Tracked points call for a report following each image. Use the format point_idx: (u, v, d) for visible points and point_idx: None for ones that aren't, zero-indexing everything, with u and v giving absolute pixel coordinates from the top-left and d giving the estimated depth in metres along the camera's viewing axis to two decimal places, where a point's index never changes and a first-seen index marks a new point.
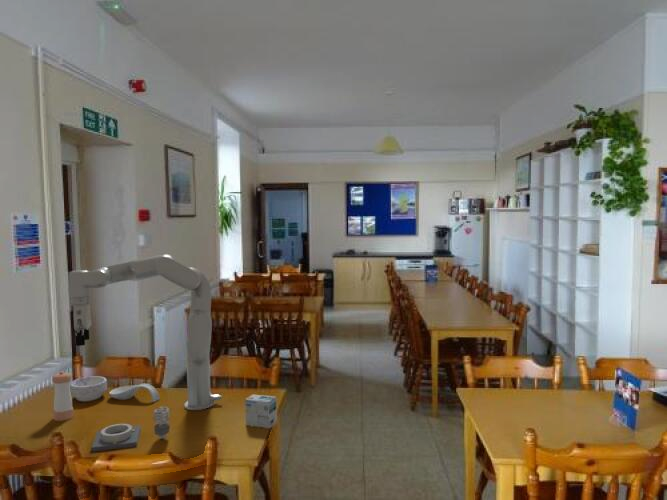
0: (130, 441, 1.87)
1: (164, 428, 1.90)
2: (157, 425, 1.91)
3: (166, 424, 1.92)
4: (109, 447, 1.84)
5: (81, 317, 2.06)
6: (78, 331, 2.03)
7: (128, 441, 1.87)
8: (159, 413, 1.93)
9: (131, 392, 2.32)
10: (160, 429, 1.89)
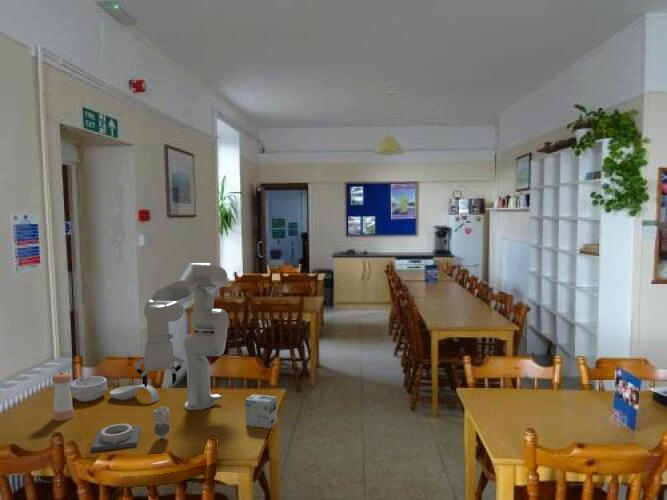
0: (130, 441, 1.87)
1: (164, 428, 1.90)
2: (157, 425, 1.91)
3: (166, 424, 1.92)
4: (109, 447, 1.84)
5: None
6: None
7: (128, 441, 1.87)
8: (159, 413, 1.93)
9: (131, 392, 2.32)
10: (160, 429, 1.89)
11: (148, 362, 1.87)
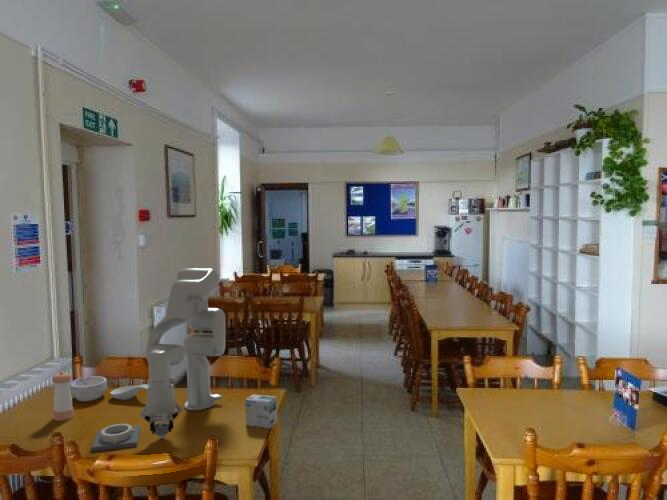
0: (130, 441, 1.87)
1: (164, 428, 1.90)
2: (157, 425, 1.91)
3: (166, 424, 1.92)
4: (109, 447, 1.84)
5: None
6: None
7: (128, 441, 1.87)
8: None
9: (131, 392, 2.32)
10: (160, 429, 1.89)
11: (150, 407, 1.88)
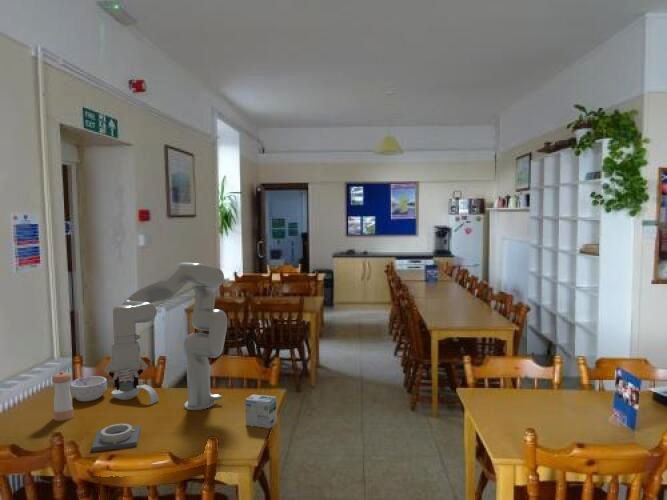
0: (130, 441, 1.87)
1: (129, 384, 1.88)
2: (122, 381, 1.89)
3: (131, 381, 1.90)
4: (109, 447, 1.84)
5: None
6: (143, 369, 1.92)
7: (128, 441, 1.87)
8: None
9: (131, 393, 2.31)
10: (125, 385, 1.87)
11: (114, 363, 1.86)
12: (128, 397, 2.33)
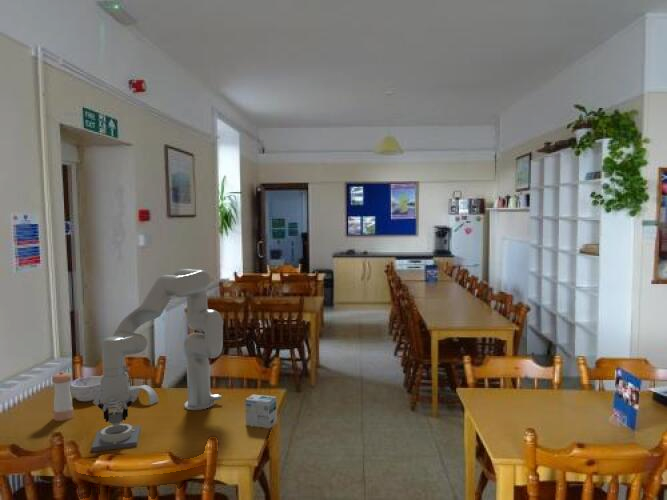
0: (130, 441, 1.87)
1: (118, 416, 1.89)
2: (111, 413, 1.90)
3: (120, 412, 1.91)
4: (109, 447, 1.84)
5: (129, 385, 1.92)
6: None
7: (128, 441, 1.87)
8: None
9: None
10: (113, 417, 1.88)
11: (103, 395, 1.87)
12: None
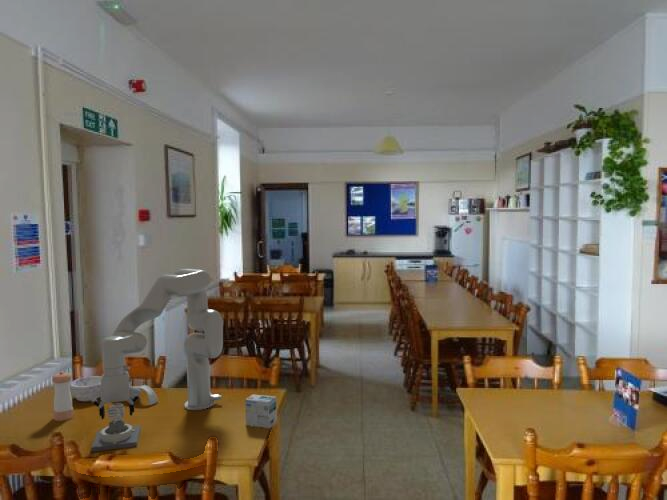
0: (130, 441, 1.87)
1: (118, 425, 1.89)
2: (112, 422, 1.90)
3: (121, 421, 1.91)
4: (109, 447, 1.84)
5: None
6: None
7: (128, 441, 1.87)
8: (114, 410, 1.92)
9: (131, 393, 2.31)
10: (114, 426, 1.89)
11: (104, 394, 1.87)
12: None
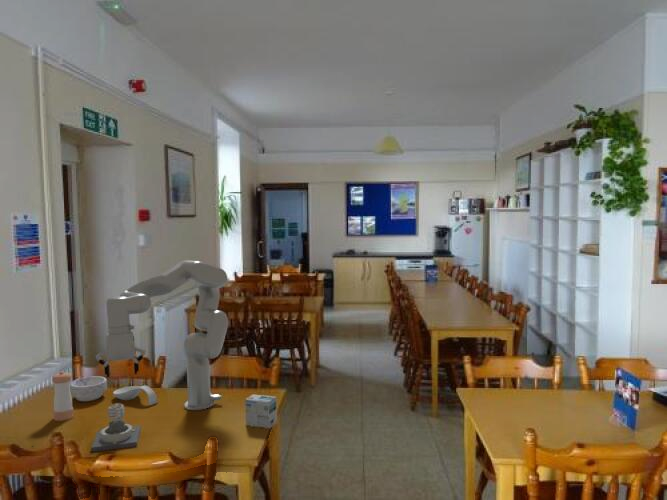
0: (130, 441, 1.87)
1: (119, 425, 1.89)
2: (112, 422, 1.90)
3: (121, 421, 1.91)
4: (109, 447, 1.84)
5: (134, 343, 1.96)
6: (143, 355, 1.96)
7: (128, 441, 1.87)
8: (114, 410, 1.92)
9: (131, 393, 2.31)
10: (114, 426, 1.89)
11: (109, 353, 1.91)
12: (129, 397, 2.32)
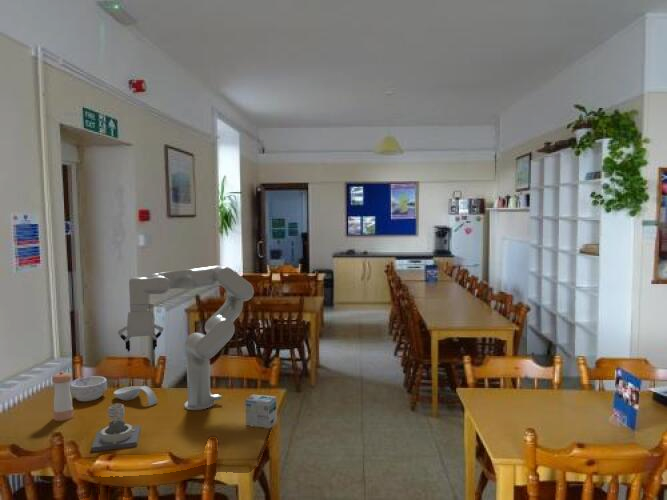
0: (130, 441, 1.87)
1: (119, 425, 1.89)
2: (112, 422, 1.90)
3: (121, 421, 1.91)
4: (109, 447, 1.84)
5: (153, 321, 2.11)
6: None
7: (128, 441, 1.87)
8: (114, 410, 1.92)
9: (131, 393, 2.30)
10: (114, 426, 1.89)
11: (131, 329, 2.06)
12: (129, 397, 2.32)
